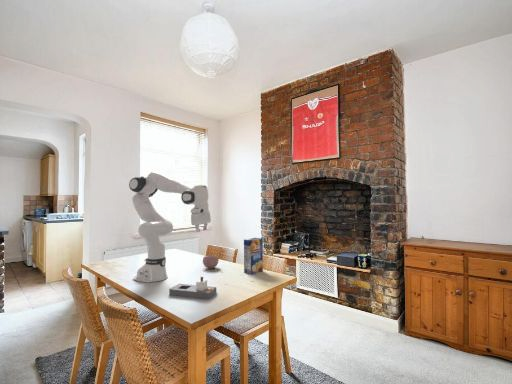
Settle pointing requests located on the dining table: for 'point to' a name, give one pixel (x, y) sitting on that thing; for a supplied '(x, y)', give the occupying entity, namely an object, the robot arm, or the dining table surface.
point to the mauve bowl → (210, 261)
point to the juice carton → (253, 255)
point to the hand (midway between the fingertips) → (201, 231)
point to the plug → (201, 285)
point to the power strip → (192, 291)
